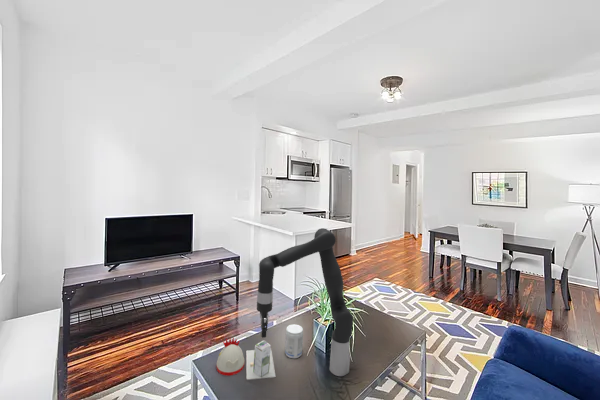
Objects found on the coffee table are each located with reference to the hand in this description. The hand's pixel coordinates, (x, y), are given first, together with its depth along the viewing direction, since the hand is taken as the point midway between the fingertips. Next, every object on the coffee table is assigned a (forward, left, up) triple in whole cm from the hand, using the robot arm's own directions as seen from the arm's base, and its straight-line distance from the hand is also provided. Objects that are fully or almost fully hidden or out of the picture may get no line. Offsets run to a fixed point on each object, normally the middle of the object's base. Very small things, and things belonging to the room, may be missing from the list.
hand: (263, 332), depth 132 cm
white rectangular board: (0, -9, -22) cm, 24 cm away
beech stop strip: (0, -7, -22) cm, 23 cm away
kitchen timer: (+15, -9, -22) cm, 28 cm away
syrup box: (0, -1, -22) cm, 22 cm away
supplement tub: (-19, -15, -22) cm, 33 cm away
